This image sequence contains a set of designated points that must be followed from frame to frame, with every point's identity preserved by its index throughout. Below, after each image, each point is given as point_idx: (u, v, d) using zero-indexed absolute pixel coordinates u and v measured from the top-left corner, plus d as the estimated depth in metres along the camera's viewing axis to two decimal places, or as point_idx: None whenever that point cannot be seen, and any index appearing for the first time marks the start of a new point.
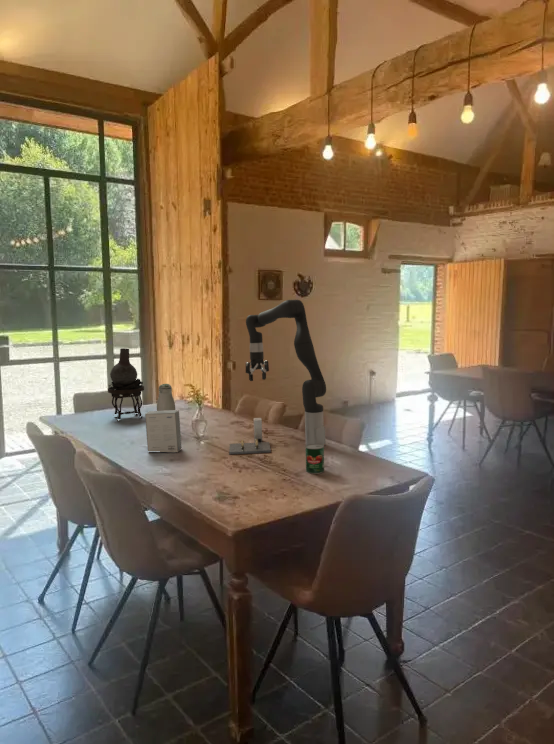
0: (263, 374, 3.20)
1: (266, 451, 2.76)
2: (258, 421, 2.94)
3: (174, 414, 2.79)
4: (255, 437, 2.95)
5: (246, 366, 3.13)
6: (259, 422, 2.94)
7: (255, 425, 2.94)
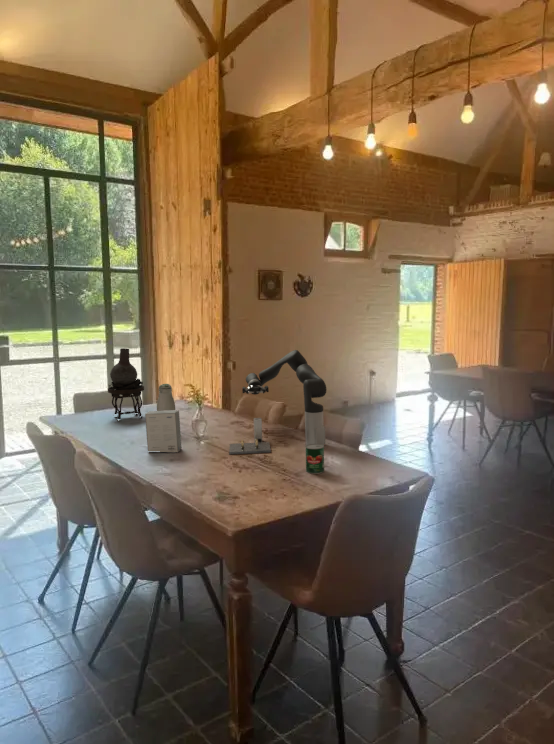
0: None
1: (266, 451, 2.76)
2: (258, 421, 2.94)
3: (174, 414, 2.79)
4: (255, 437, 2.95)
5: None
6: (259, 422, 2.94)
7: (255, 425, 2.94)
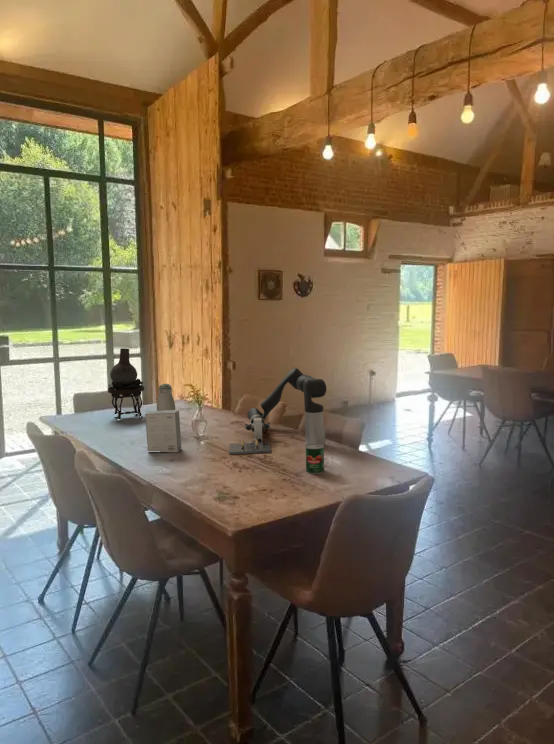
0: None
1: (266, 451, 2.76)
2: (258, 421, 2.94)
3: (174, 414, 2.79)
4: (255, 437, 2.94)
5: (246, 427, 3.02)
6: (259, 422, 2.94)
7: (255, 425, 2.94)
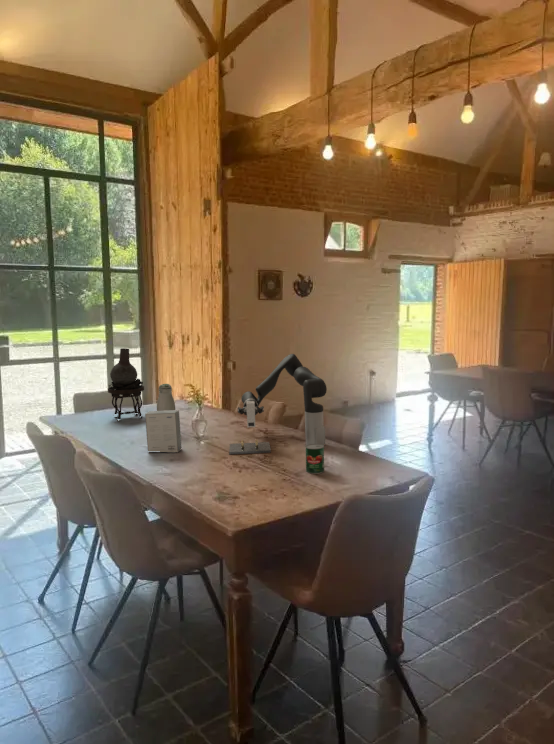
0: None
1: (266, 451, 2.76)
2: (251, 404, 2.82)
3: (174, 414, 2.79)
4: (248, 421, 2.83)
5: (238, 411, 2.90)
6: (252, 405, 2.82)
7: (248, 408, 2.82)
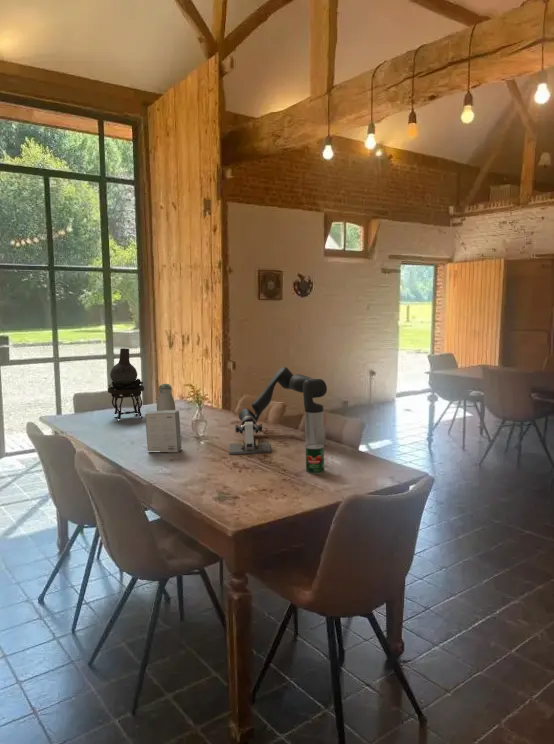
0: (255, 430, 2.83)
1: (266, 451, 2.76)
2: (249, 425, 2.79)
3: (174, 414, 2.79)
4: (246, 442, 2.80)
5: (235, 429, 2.88)
6: (250, 426, 2.79)
7: (246, 429, 2.79)
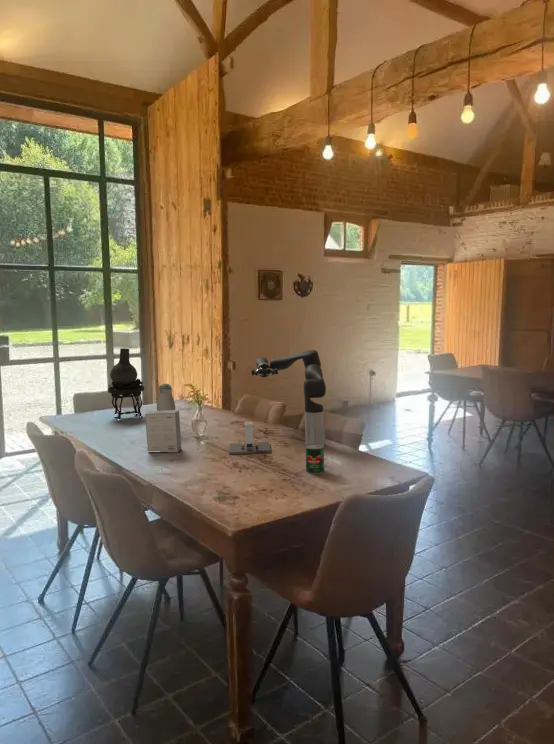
0: None
1: (266, 451, 2.76)
2: (249, 425, 2.79)
3: (174, 414, 2.79)
4: (246, 442, 2.80)
5: None
6: (250, 426, 2.79)
7: (246, 429, 2.79)
